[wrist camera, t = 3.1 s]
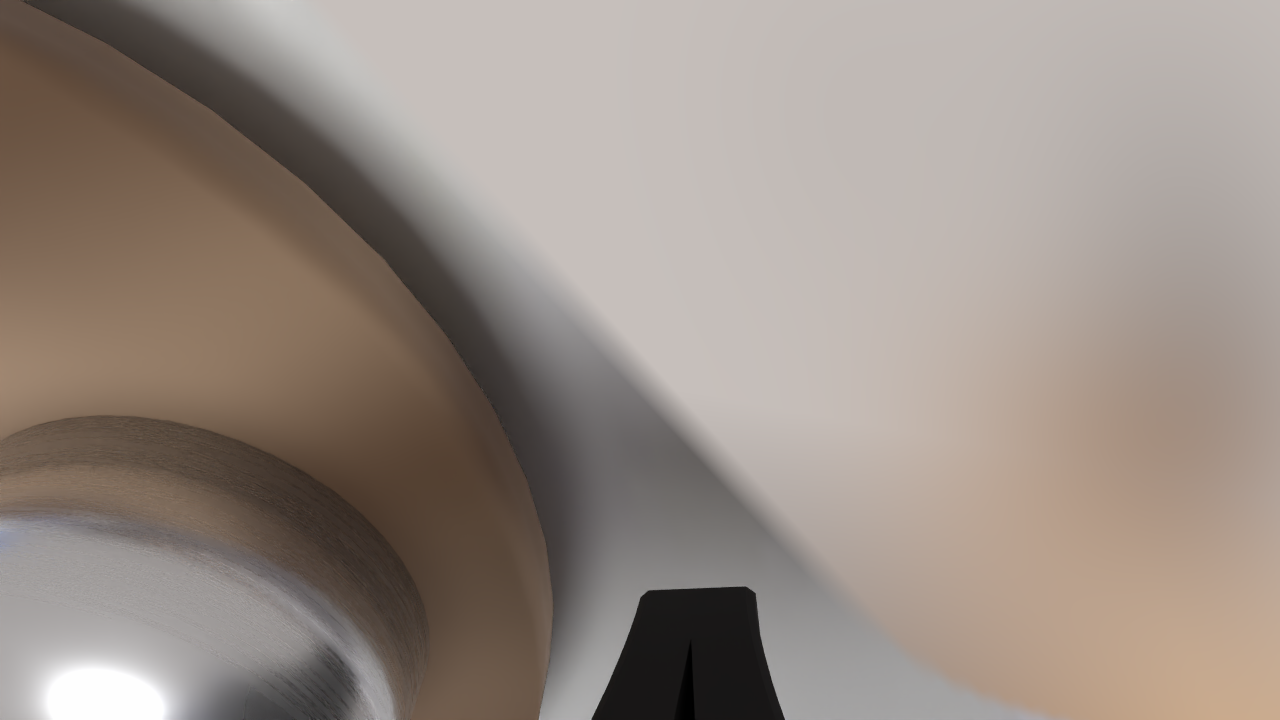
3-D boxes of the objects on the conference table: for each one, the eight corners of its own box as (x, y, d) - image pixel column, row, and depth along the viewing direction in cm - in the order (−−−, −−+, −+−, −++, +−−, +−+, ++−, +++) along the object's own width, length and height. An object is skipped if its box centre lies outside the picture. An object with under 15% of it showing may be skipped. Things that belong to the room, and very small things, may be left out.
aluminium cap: (520, 692, 15) (478, 890, 13) (180, 794, 17) (87, 978, 15) (209, 337, 12) (69, 507, 9) (-158, 518, 14) (-351, 694, 12)
